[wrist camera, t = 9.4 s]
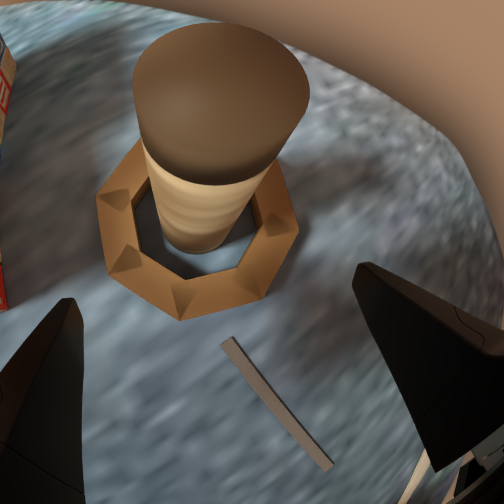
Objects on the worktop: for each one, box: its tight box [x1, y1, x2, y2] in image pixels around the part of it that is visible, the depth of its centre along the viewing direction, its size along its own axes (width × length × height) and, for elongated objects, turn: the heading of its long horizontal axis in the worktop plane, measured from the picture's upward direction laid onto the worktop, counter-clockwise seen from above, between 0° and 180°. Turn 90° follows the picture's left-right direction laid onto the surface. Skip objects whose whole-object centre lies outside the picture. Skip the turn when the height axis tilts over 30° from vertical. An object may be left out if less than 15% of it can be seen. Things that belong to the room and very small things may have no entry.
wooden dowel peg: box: [132, 23, 310, 255], centre depth 12 cm, size 4×4×12 cm
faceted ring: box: [96, 138, 299, 321], centre depth 18 cm, size 11×11×2 cm
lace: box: [220, 337, 333, 472], centre depth 17 cm, size 12×1×1 cm, turn 36°
